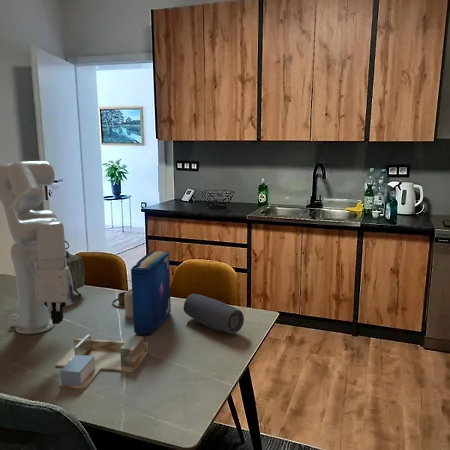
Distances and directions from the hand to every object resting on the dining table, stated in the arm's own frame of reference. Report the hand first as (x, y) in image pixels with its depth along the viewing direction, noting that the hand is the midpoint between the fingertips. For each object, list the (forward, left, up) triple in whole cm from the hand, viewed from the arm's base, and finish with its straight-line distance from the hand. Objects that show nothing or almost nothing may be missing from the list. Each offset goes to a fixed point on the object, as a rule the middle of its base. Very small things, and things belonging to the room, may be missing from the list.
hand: (57, 322), depth 132 cm
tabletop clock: (-25, +50, -12) cm, 57 cm away
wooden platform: (+13, 0, -11) cm, 18 cm away
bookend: (+8, 0, -11) cm, 13 cm away
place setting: (+8, +45, -12) cm, 47 cm away
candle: (+11, +35, -12) cm, 38 cm away
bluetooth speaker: (+42, +29, -12) cm, 53 cm away
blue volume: (+21, +28, -12) cm, 37 cm away
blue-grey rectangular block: (+11, -11, -11) cm, 19 cm away
